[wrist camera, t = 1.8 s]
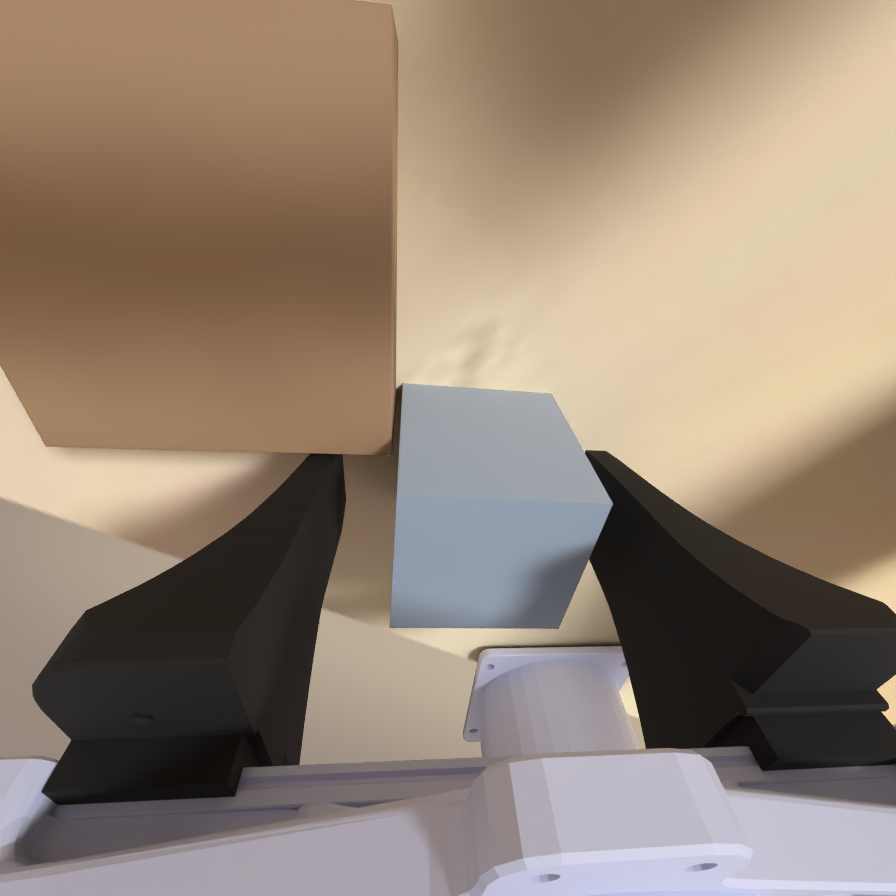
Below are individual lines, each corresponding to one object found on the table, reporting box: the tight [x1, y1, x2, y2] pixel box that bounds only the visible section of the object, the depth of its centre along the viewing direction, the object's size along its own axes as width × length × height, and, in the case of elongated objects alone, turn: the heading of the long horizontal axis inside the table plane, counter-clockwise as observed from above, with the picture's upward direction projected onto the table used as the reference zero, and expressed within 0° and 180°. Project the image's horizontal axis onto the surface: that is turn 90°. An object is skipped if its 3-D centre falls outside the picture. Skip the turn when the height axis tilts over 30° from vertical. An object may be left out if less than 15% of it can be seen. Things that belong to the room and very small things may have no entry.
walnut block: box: [0, 0, 398, 455], centre depth 9 cm, size 8×8×3 cm
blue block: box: [390, 383, 613, 629], centre depth 12 cm, size 4×4×5 cm
